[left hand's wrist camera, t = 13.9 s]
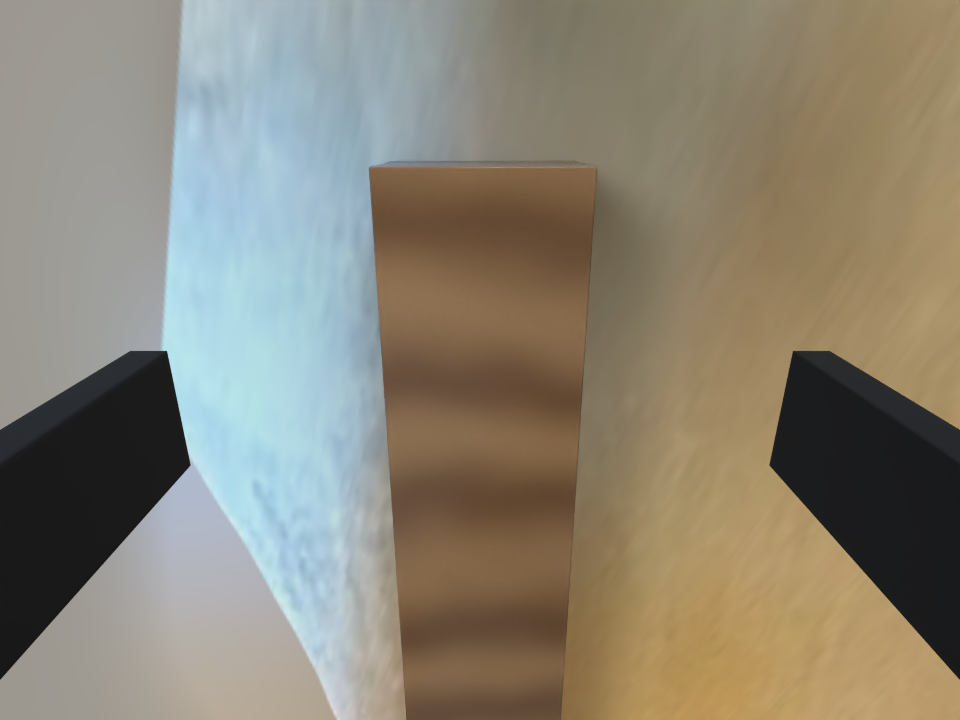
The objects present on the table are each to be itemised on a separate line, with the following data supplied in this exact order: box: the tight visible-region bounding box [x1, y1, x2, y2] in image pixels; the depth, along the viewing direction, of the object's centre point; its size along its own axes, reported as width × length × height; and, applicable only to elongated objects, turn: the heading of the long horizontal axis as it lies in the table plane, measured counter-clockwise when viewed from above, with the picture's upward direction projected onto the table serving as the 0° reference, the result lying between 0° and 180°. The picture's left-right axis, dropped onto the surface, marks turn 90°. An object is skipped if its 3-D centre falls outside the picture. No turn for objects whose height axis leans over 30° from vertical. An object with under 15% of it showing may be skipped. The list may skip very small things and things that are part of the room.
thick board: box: [369, 161, 597, 720], centre depth 37 cm, size 51×10×6 cm, turn 0°
